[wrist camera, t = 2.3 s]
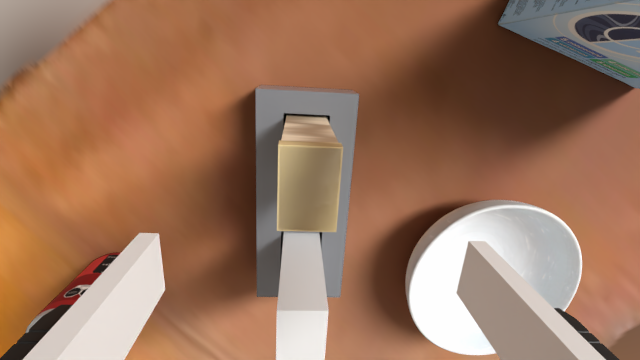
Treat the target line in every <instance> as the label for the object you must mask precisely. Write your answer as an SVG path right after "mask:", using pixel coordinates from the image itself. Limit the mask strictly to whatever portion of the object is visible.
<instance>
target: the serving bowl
mask: <svg viewBox="0 0 640 360" xmlns="http://www.w3.org/2000/svg"><path fill="white" fill-rule="evenodd" d="M468 241H486V242H487V243H488V244H489V245H490V246H491V247H492V248H493V249H494V250H495V251H496V252H497V253H498V254H499V255H500V256H501V257H502V258H503V259H504V260H505V261H506V262H507V263H508V264H509V265H510V266H511V267H512V268H513V269H514V270H515V271H516V272H517V273H518V274H519V275H520V276H521V277H522V278H523V279H524V280H525V281H526V282H527V283H528V284H529V285H530V286H531V287H532V288H533V289H534V290H535V291H537V292H538V293H539V294H540V295H541V296H542V297H543V298H544V299H545V300H546V301H547V302H548V303H549V304H550V305H551V306H552V307H553V308H560V309H561V310H563V311H565V310H566V308H567V307H568V306H569V304H570V302H571V301H572V299H573V297H574V295H575V293H576V291H577V288H578V285H579V282H580V278H581V272H582V256H581V250H580V247H579V244H578V241H577V239H576V237H575V235H574V234H573V232H572V231H571V229H570V228H569V227H568V226H567V225H566V224H565V223H564V222H563V221H562V220H561V219H560V218H558V217H557V216H555V215H554V214H552V213H550V212H548V211H546V210H544V209H541V208H539V207H536V206H533V205H530V204H526V203H522V202H518V201H511V200H486V201H480V202H475V203H471V204H468V205H465V206H462V207H460V208H458V209H455V210H453V211H452V212H450V213H448V214H446V215H445V216H443V217H442V218H440V219H439V220H438V221H437V222H435V223H434V224H433V225H432V226H431V227H430V228H429V229H428V230H427V231H426V232H425V233H424V235H423V236H422V237H421V238H420V240H419V241H418V243H417V245H416V246H415V248H414V250H413V252H412V254H411V257H410V259H409V263H408V266H407V271H406V280H405V288H406V297H407V302H408V307H409V311H410V314H411V317H412V319H413V321H414V323H415V325H416V326H417V328H418V329H419V331H420V332H421V333H422V334H423V335H424V336H425V337H426V338H427V339H428V340H429V341H431V342H432V343H434V344H435V345H437V346H439V347H441V348H443V349H445V350H448V351H451V352H455V353H459V354H466V355H487V354H495V353H496V352H495V350H494V349H493V347H492V346H491V344H490V343H489V341H488V340H487V338H486V337H485V335H484V334H483V332H482V331H481V329H480V328H479V326H478V325H477V323H476V322H475V320H474V319H473V317H472V316H471V314H470V313H469V311H468V310H467V308H466V307H465V305H464V304H463V302H462V301H461V299H460V298H459V296H458V295H457V293H456V292H457V288H458V284H459V279H460V275H461V271H462V267H463V262H464V258H465V254H466V250H467V245H468Z"/></svg>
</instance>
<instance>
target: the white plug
mask: <svg viewBox="0 0 640 360" xmlns="http://www.w3.org/2000/svg"><path fill="white" fill-rule="evenodd" d="M327 323H328V302H327V294H326V285H325V277H324V268H323V260H322V251H321V243H320V234H319V232H290V231H284V236H283V247H282V259H281V270H280V281H279V293H278V304H277V333H276V360H325V348H326V336H327Z"/></svg>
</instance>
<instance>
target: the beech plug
mask: <svg viewBox="0 0 640 360" xmlns="http://www.w3.org/2000/svg"><path fill="white" fill-rule="evenodd" d="M342 156H343V146H342V144H341V143H339V142H338V140H337V138H336V136H335V134H334V132H333V130H332V128H331V126H330V124H329V122H328V119H327V117H326V115H311V114H290V113H287V116H286V121H285V125H284V130H283V134H282V139H281V140H279V144H278V194H277V231H308V232H336V229H337V217H338V205H339V193H340V181H341V168H342Z"/></svg>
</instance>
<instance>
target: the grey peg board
mask: <svg viewBox="0 0 640 360" xmlns="http://www.w3.org/2000/svg"><path fill="white" fill-rule="evenodd" d="M358 102H359V94H358V93H356V92H355V91H353V90H345V89H327V88H308V87H290V86H272V85H260V86H259V87H257V88H256V241H257V297H278V293H279V281H280V270H281V259H282V247H283V236H284V231H277V194H278V144H279V140H281V139H282V134H283V130H284V125H285V121H286V116H287V113H290V114H311V115H326V117H327V119H328V122H329V124H330V126H331V128H332V130H333V132H334V134H335V136H336V138H337V140H338V142H339V143H341V144H342V146H343V156H342V168H341V181H340V193H339V205H338V217H337V229H336V232H319V234H320V243H321V251H322V260H323V268H324V277H325V285H326V294H327V297H340V294H341V284H342V273H343V262H344V252H345V241H346V230H347V220H348V209H349V198H350V187H351V177H352V166H353V155H354V145H355V134H356V123H357V113H358ZM290 232H308V231H290Z"/></svg>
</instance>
